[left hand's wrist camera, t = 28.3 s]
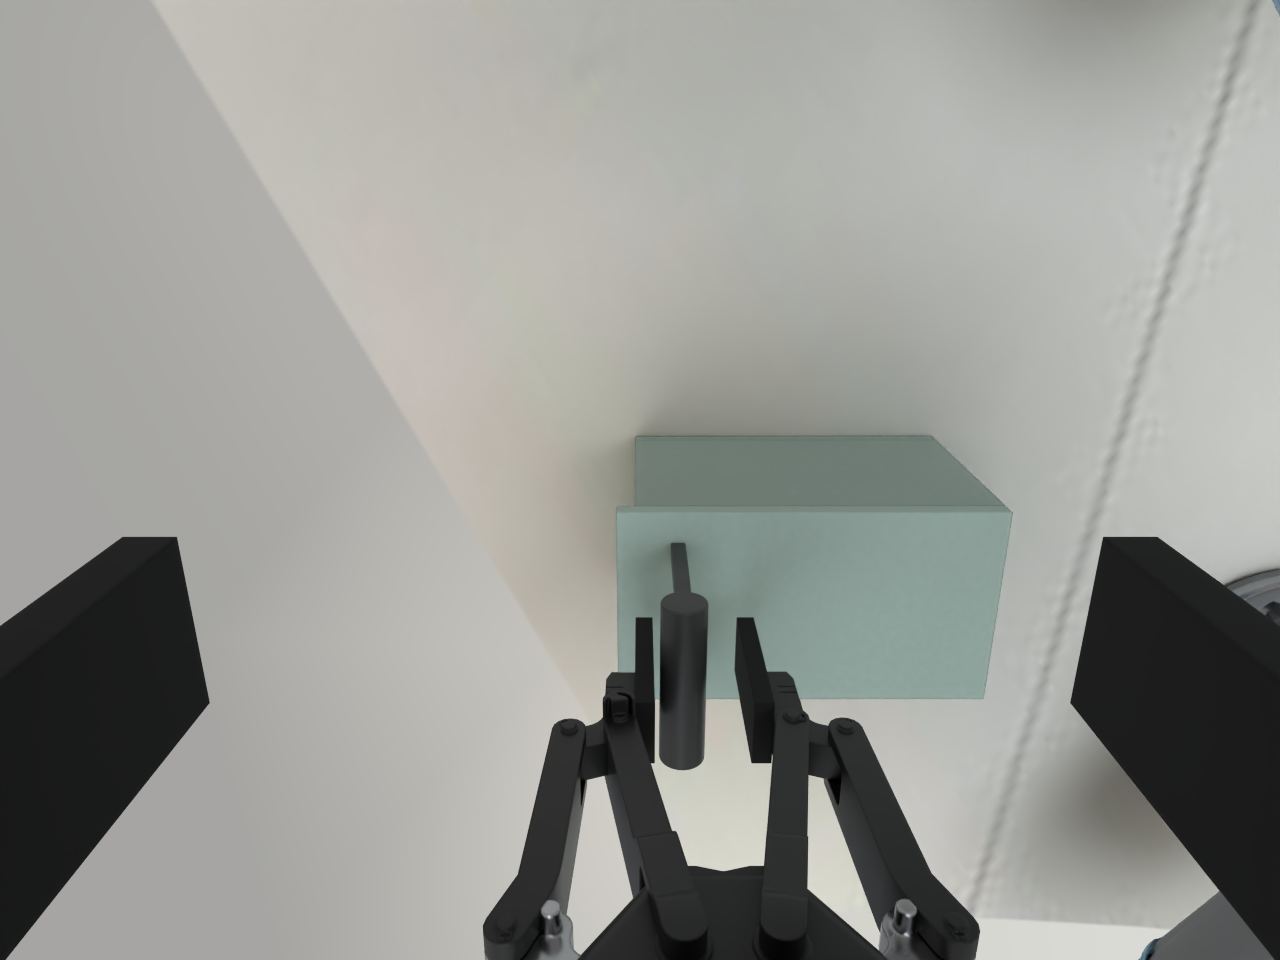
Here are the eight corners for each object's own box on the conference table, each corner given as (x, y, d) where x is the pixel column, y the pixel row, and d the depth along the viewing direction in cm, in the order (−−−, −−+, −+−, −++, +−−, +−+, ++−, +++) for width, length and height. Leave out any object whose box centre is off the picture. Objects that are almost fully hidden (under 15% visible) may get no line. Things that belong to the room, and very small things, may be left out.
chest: (636, 590, 55) (635, 690, 44) (635, 436, 51) (634, 505, 41) (913, 589, 55) (977, 689, 44) (932, 435, 51) (1005, 504, 41)
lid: (618, 690, 44) (614, 797, 37) (616, 505, 41) (611, 582, 33) (978, 690, 44) (1046, 797, 37) (1006, 505, 41) (1088, 582, 33)
